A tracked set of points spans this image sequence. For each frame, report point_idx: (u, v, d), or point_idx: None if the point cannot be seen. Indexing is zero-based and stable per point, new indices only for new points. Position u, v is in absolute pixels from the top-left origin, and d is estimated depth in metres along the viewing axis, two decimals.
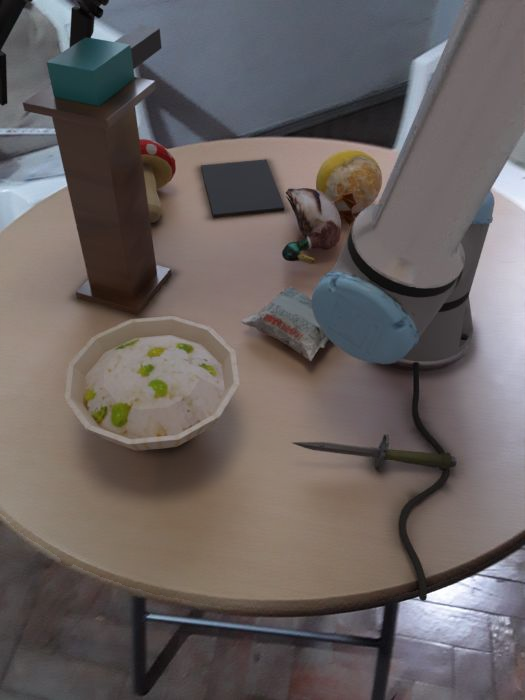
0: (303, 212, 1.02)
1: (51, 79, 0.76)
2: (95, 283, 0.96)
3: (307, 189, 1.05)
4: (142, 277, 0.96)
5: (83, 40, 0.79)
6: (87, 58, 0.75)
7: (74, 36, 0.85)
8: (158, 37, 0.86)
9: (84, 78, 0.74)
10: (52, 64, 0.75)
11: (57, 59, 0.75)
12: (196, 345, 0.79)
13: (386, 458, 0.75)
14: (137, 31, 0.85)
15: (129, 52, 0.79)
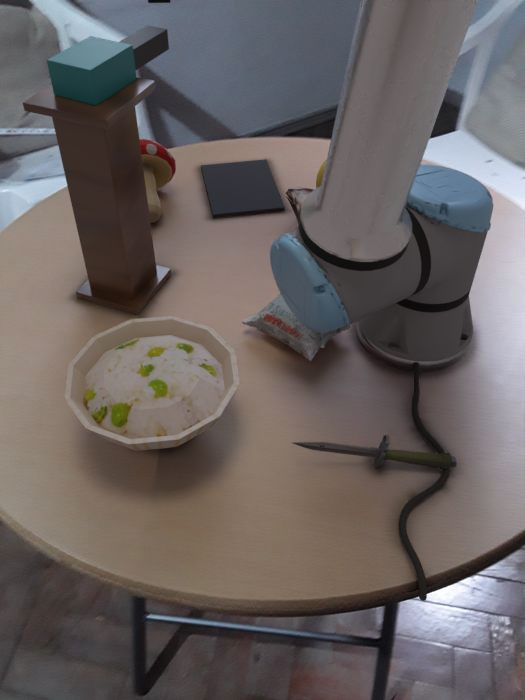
0: None
1: (51, 77, 0.76)
2: (95, 283, 0.96)
3: (307, 189, 1.05)
4: (142, 277, 0.96)
5: (86, 38, 0.79)
6: (87, 57, 0.76)
7: None
8: (165, 38, 0.86)
9: (82, 77, 0.74)
10: (52, 62, 0.75)
11: (58, 57, 0.76)
12: (196, 345, 0.79)
13: (386, 458, 0.75)
14: (144, 31, 0.85)
15: (131, 52, 0.79)
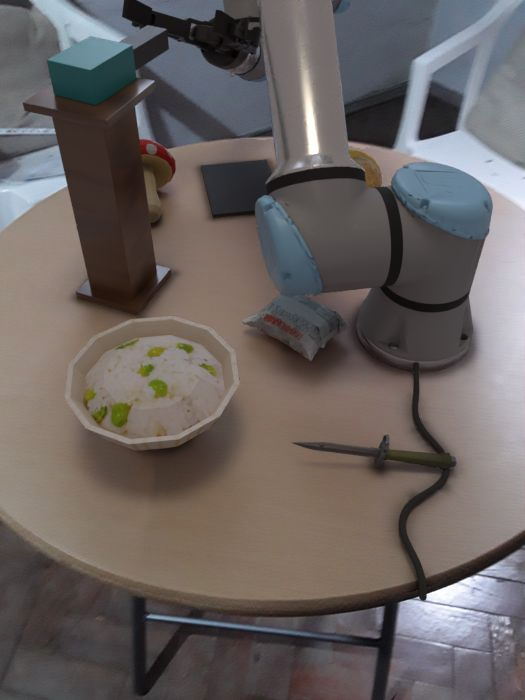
0: None
1: (51, 77, 0.76)
2: (95, 283, 0.96)
3: None
4: (142, 277, 0.96)
5: (86, 38, 0.79)
6: (87, 57, 0.76)
7: None
8: (165, 38, 0.86)
9: (82, 77, 0.74)
10: (52, 62, 0.75)
11: (58, 57, 0.76)
12: (196, 345, 0.79)
13: (386, 458, 0.75)
14: (144, 31, 0.85)
15: (131, 52, 0.79)
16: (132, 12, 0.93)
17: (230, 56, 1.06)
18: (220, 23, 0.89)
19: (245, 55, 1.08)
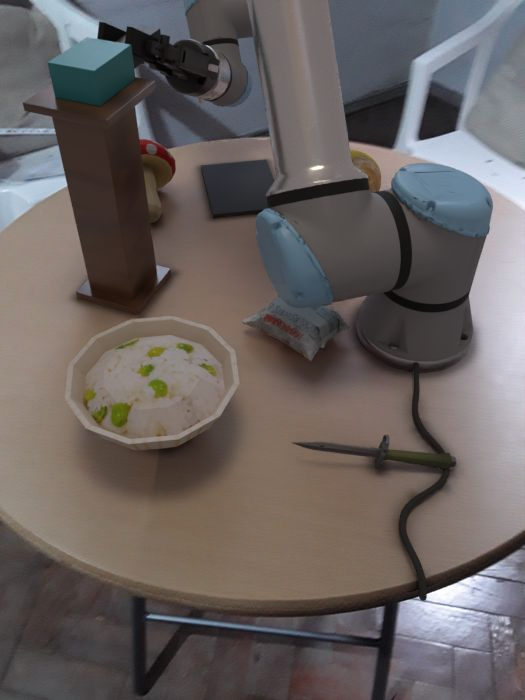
0: None
1: (52, 79, 0.76)
2: (95, 283, 0.96)
3: None
4: (142, 277, 0.96)
5: (83, 40, 0.79)
6: (88, 58, 0.75)
7: None
8: (159, 37, 0.86)
9: (86, 78, 0.74)
10: (53, 64, 0.75)
11: (58, 59, 0.75)
12: (196, 345, 0.79)
13: (386, 458, 0.75)
14: None
15: (130, 52, 0.79)
16: (109, 40, 0.82)
17: (196, 83, 0.98)
18: (132, 41, 0.80)
19: (213, 81, 1.00)
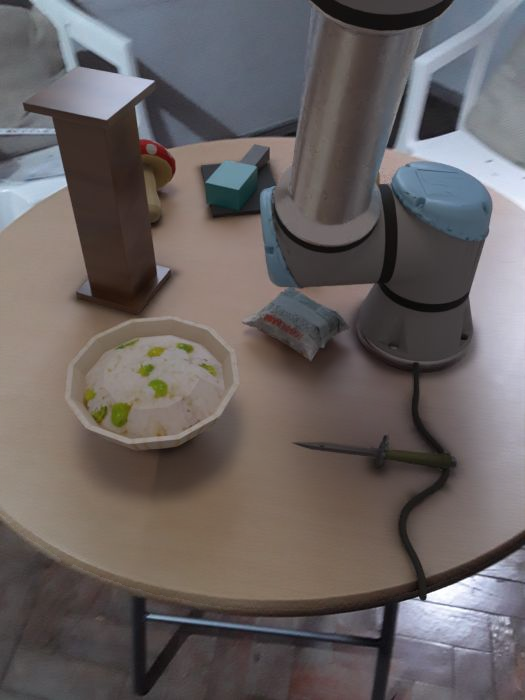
0: None
1: (206, 192, 1.12)
2: (95, 283, 0.96)
3: None
4: (142, 277, 0.96)
5: (224, 162, 1.15)
6: (231, 179, 1.11)
7: None
8: (268, 153, 1.22)
9: (231, 194, 1.10)
10: (209, 184, 1.11)
11: (212, 179, 1.11)
12: (196, 345, 0.79)
13: (386, 458, 0.75)
14: (255, 150, 1.21)
15: (256, 171, 1.15)
16: None
17: None
18: None
19: None
